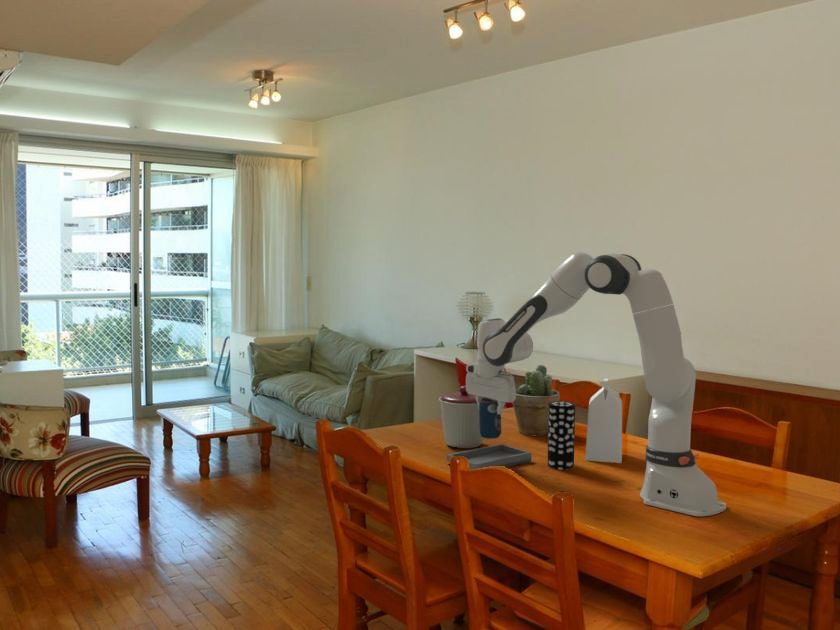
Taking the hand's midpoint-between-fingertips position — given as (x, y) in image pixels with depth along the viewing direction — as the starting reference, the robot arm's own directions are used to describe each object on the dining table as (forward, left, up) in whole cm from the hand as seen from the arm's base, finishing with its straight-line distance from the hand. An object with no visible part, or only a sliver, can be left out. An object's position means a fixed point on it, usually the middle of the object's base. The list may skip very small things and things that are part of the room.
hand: (490, 411), depth 237 cm
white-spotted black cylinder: (-16, -16, -17) cm, 28 cm away
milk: (-17, -36, -17) cm, 43 cm away
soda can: (0, 0, -8) cm, 8 cm away
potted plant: (+21, -42, -17) cm, 50 cm away
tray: (0, 0, -17) cm, 17 cm away
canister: (+22, -8, -17) cm, 29 cm away
